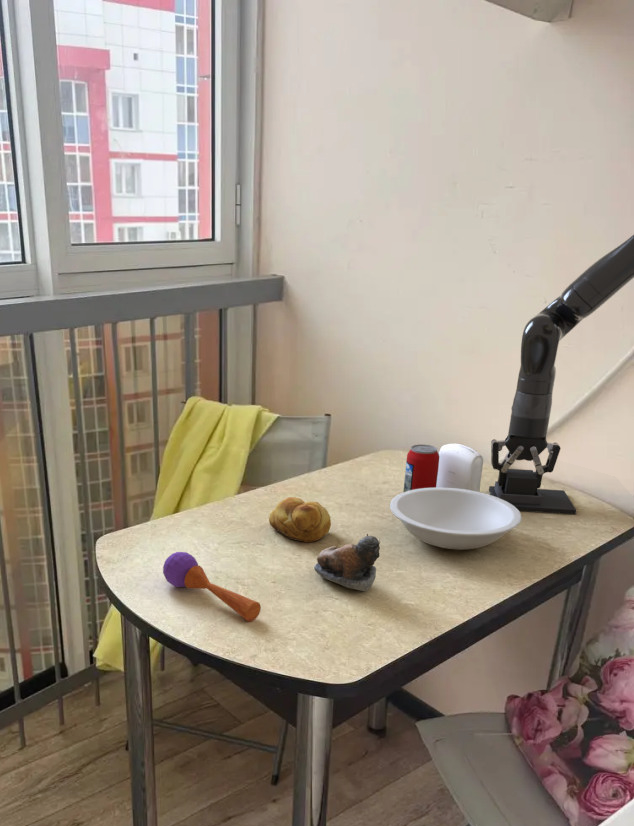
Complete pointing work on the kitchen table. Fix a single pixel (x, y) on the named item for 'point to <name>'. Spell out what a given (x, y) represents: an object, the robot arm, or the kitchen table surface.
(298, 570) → the kitchen table surface
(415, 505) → the soup bowl
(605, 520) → the kitchen table surface
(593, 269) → the robot arm
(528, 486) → the black block
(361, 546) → the bison figurine
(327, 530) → the bread roll
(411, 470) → the beverage can
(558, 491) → the base pad
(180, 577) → the purple toy maraca
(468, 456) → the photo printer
